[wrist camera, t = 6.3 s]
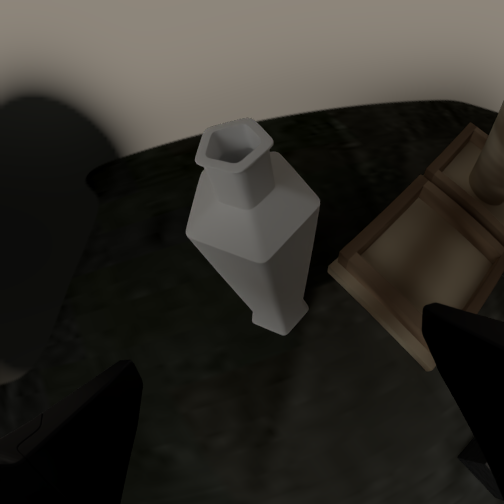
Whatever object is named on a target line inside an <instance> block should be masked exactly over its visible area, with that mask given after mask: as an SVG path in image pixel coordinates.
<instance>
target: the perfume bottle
mask: <svg viewBox="0 0 504 504" xmlns="http://www.w3.org/2000/svg"><path fill="white" fill-rule="evenodd" d="M272 146H273V140H272V138H271V137H270V136H269V135H268V134H267V133H266V132H265V130H264V129H263V128H262V127H261V126H260V125H259V124H258V123H257V122H256V121H255V120H253V119H251V118H243V119H239V120H234V121H230V122H227V123H223V124H219V125H215V126H212V127H209V128H207V129H206V130H205V131H204V133H203V135H202V138H201V141H200V144H199V147H198V151H197V154H196V157H195V162H196V163H197V164H198V165H200V166H203V167H204V170H203V171H202V173H201V175H200V179H199V183H198V186H197V190H196V193H195V197H194V201H193V205H192V208H191V212H190V216H189V220H188V224H187V228H186V235H187V237H188V238H189V239H190V240H191V241H192V242H193V244H194V245H195V246H196V247H197V248H198V249H199V251H200V252H201V253H202V254H203V255H204V256H205V258H206V259H207V260H208V261H209V262H210V263H211V264H212V266H213V267H214V268H215V269H216V270H217V271H218V273H219V274H220V275H221V276H222V277H223V278H224V279H225V280H226V282H227V283H228V284H229V285H230V286H231V287H232V288H233V290H234V291H235V292H236V293H237V294H238V295H239V296H240V297H241V299H242V300H243V301H244V302H245V303H246V304H247V305H248V306H249V308H250V309H251V310H252V311H253V316H252V322H253V323H254V324H256V325H259V326H261V327H263V328H266V329H268V330H271V331H273V332H276V333H278V334H280V335H287V334H288V333H289V332H290V331H291V330H292V329H293V327H294V326H295V325H296V324H297V323H298V322H299V321H300V320H301V318H302V317H303V316H304V315H305V314H306V313H307V312H308V310H309V307H308V305H307V304H306V302H305V301H304V299H303V297H304V292H305V286H306V281H307V276H308V271H309V265H310V260H311V254H312V249H313V243H314V237H315V231H316V225H317V219H318V213H319V207H320V200H319V198H318V196H317V195H316V194H315V193H314V192H313V191H312V189H311V188H310V187H309V186H308V185H307V184H306V182H305V181H304V180H303V179H302V178H301V177H300V176H299V174H298V173H297V172H296V171H295V170H294V169H293V168H292V167H291V165H290V164H289V163H288V162H287V161H286V160H285V159H284V158H283V157H282V155H281V154H279V153H278V152H270V151H269V149H270V148H271V147H272Z"/></svg>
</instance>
